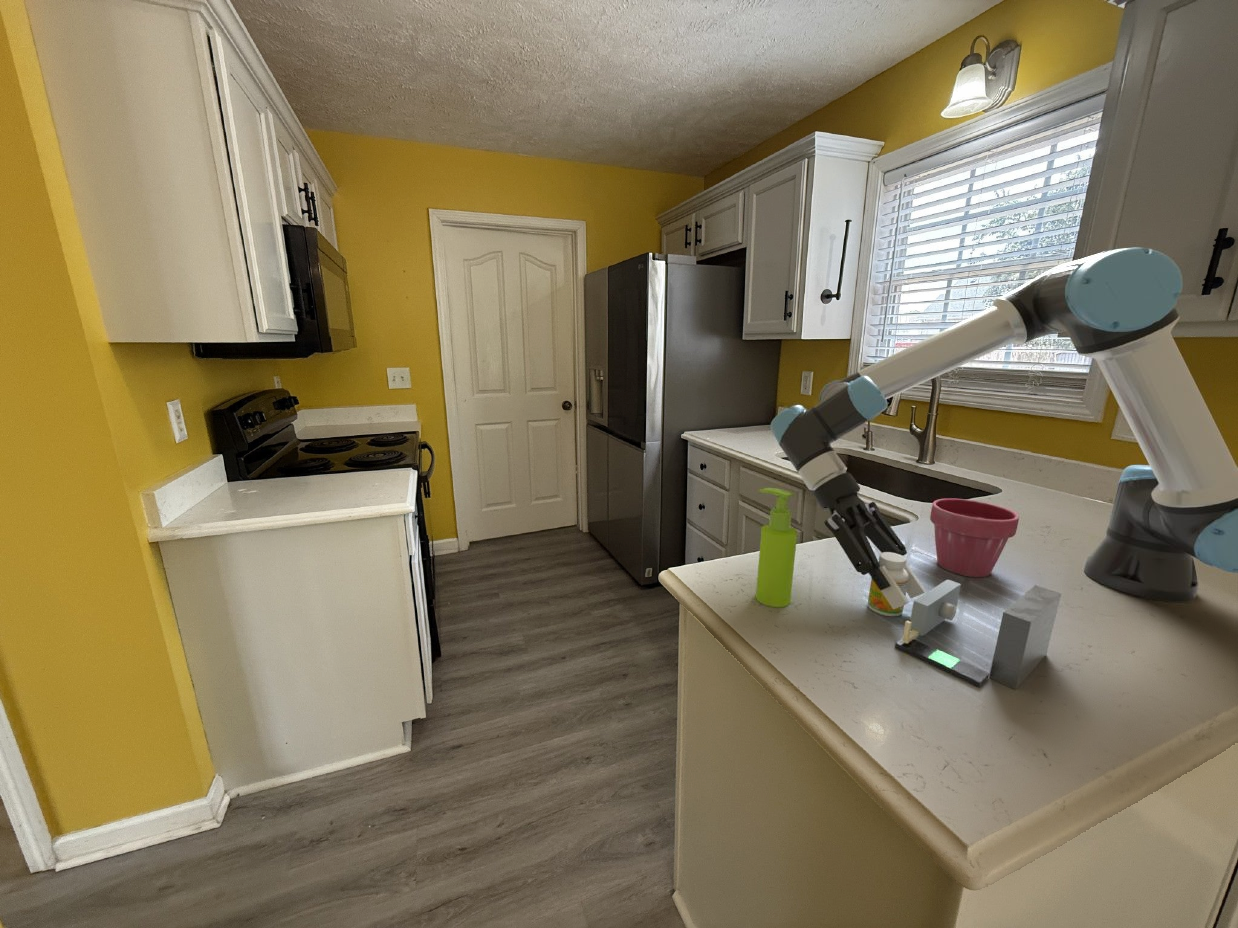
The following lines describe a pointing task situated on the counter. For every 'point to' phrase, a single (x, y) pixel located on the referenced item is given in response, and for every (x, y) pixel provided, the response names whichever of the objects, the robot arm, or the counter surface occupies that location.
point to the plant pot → (971, 535)
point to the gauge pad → (932, 609)
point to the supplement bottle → (900, 575)
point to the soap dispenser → (776, 554)
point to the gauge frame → (1004, 642)
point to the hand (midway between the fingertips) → (910, 600)
